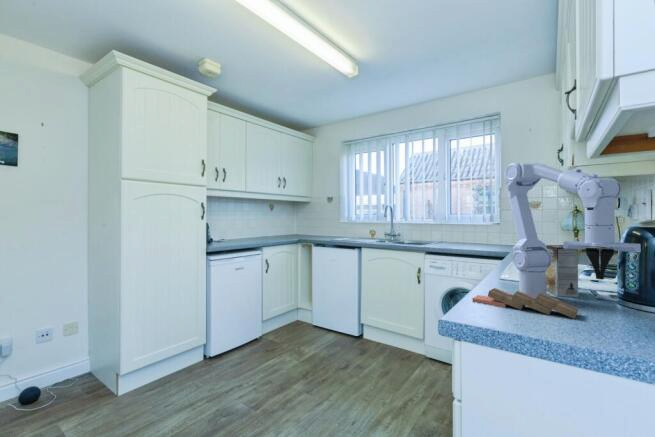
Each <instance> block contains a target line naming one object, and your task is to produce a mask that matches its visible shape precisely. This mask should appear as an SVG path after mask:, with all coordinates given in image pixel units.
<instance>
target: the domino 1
mask: <svg viewBox="0 0 655 437" xmlns="http://www.w3.org/2000/svg"><path fill="white" fill-rule="evenodd" d="M471 300H472V303H475V302H477V303H476V304H481V303H483V304H482V305H487V304H488V306H492V305H494V307H500V308H506V307H508V306H509V305H508V304H505V303H503V302H500V301H498V300H496V299H493V298H491V297H488V295H487V296H486V295H485V296H484V295H482V294H481V295H479V294H477V295H476V296H474V297H472V299H471Z"/></svg>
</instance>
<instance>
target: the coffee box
mask: <svg viewBox="0 0 655 437" xmlns="http://www.w3.org/2000/svg"><path fill="white" fill-rule="evenodd" d="M546 247H547V250H548V251H549V252H550V254H551V256H552V263H551V265H550V266H549V267H548V270H546V292H549V294H550V293H551V294H552V295H554V296H557V297H570V298H571V297H573V298H575V297H576V298H578V297H579V258H578V257H579V253H578V252H579V249H564V248H563V244H546Z"/></svg>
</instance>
